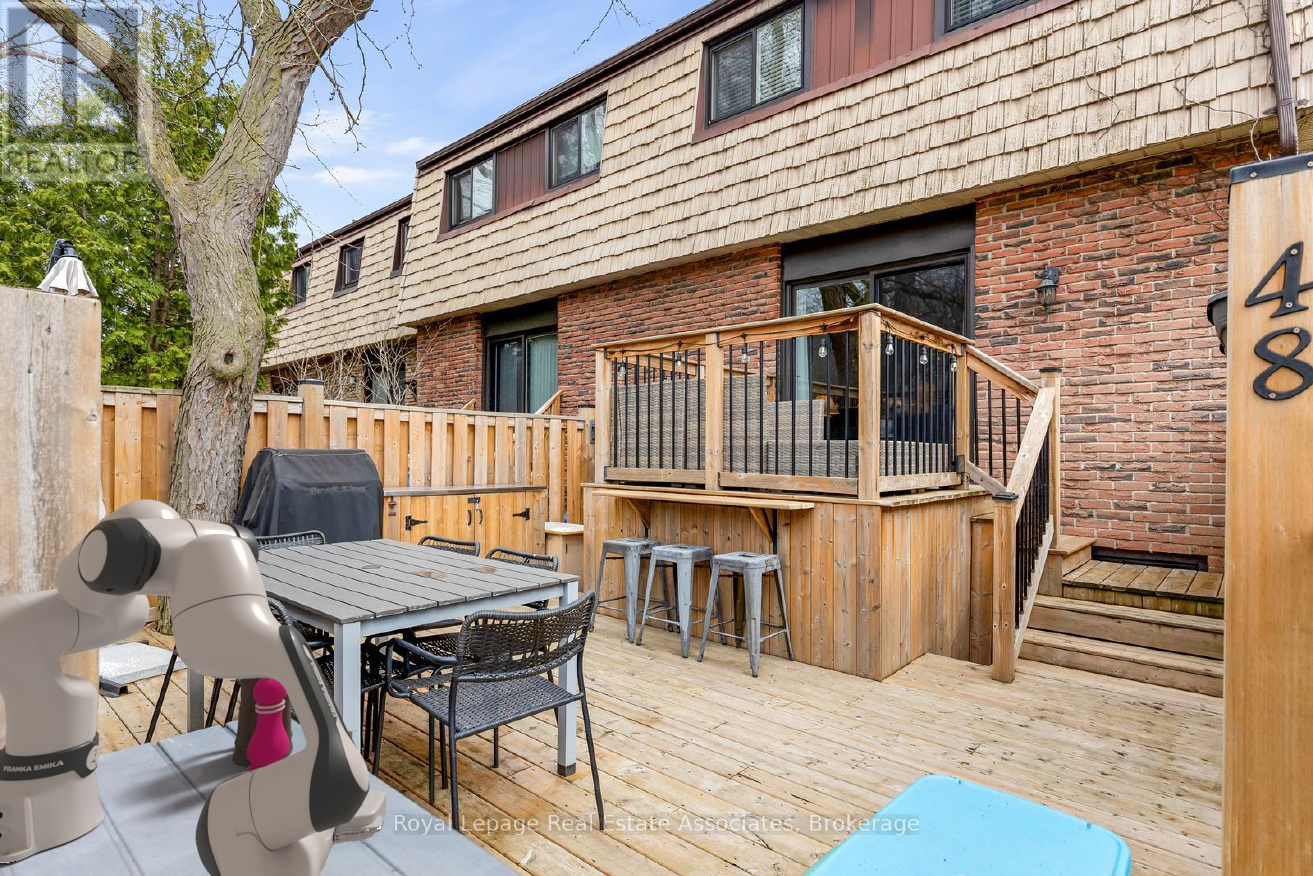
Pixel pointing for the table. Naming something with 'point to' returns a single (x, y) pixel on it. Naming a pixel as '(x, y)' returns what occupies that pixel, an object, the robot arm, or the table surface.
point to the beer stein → (254, 721)
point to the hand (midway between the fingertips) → (320, 792)
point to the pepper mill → (268, 725)
